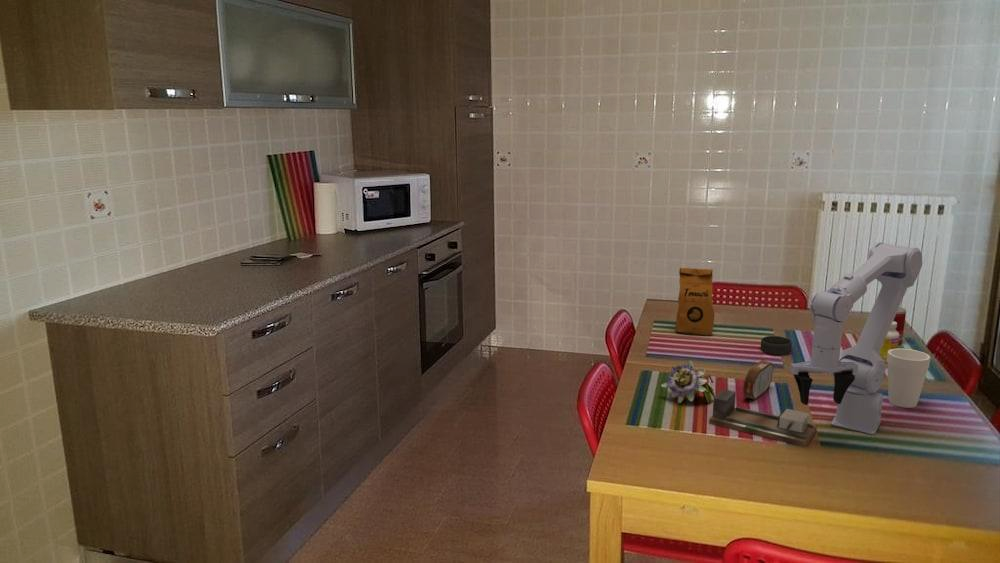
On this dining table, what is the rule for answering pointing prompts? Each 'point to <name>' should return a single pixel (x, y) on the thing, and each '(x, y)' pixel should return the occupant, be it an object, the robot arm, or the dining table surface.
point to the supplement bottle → (889, 342)
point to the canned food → (900, 322)
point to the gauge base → (754, 421)
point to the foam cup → (906, 376)
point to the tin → (758, 379)
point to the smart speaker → (776, 345)
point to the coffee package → (695, 302)
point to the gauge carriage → (793, 421)
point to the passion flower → (688, 383)
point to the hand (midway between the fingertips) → (820, 402)
